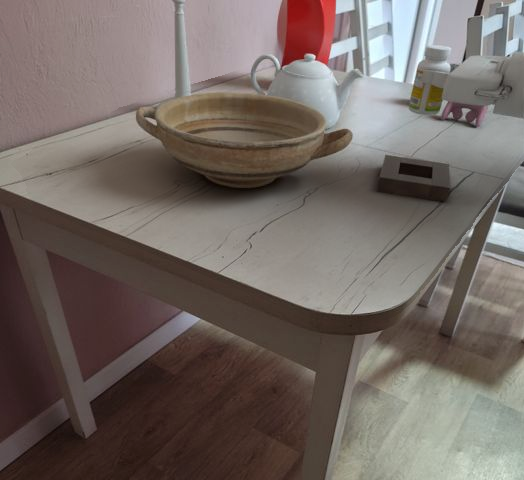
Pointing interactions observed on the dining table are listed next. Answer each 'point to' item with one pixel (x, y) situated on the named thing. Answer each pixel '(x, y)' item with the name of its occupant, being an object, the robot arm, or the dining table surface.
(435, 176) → the socket
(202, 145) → the ceramic bowl
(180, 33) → the candlestick
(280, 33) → the vase
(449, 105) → the video game controller
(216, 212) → the dining table surface
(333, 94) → the teapot
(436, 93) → the supplement bottle
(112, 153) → the dining table surface
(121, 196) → the dining table surface
